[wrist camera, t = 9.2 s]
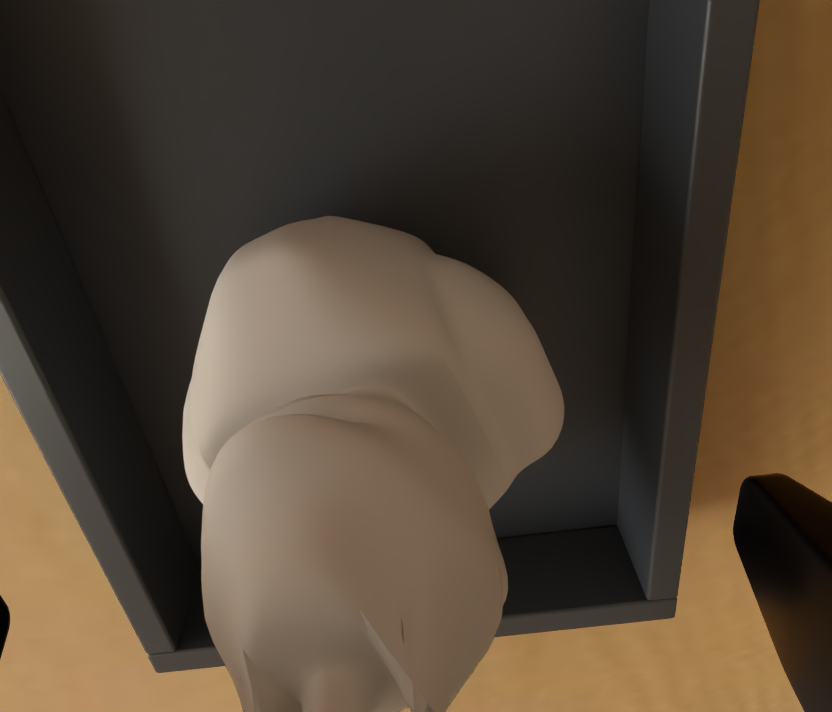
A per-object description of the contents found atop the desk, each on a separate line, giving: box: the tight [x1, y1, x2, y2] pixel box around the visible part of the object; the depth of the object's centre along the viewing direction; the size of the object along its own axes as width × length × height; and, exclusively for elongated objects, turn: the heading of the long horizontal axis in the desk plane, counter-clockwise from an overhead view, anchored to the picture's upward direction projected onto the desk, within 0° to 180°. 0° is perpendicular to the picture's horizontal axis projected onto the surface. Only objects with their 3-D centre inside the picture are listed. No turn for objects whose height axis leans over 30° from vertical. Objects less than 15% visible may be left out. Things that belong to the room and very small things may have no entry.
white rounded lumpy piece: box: [182, 216, 564, 712], centre depth 9 cm, size 5×7×8 cm
